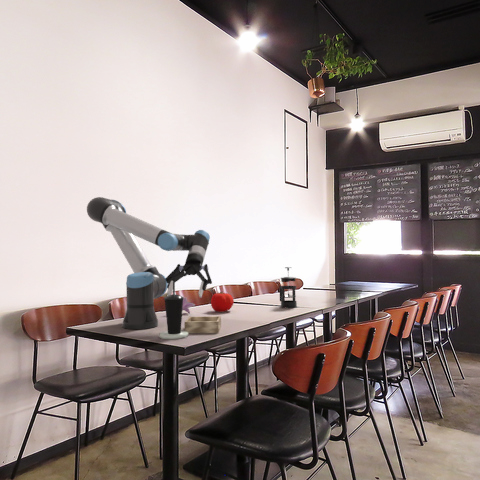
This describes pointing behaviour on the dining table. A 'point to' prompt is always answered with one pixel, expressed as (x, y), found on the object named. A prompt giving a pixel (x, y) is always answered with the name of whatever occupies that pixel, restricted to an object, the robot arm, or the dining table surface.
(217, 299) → the tomato
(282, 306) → the french press
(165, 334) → the disc
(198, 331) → the crate
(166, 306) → the drinking cup
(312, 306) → the dining table surface
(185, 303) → the lily
